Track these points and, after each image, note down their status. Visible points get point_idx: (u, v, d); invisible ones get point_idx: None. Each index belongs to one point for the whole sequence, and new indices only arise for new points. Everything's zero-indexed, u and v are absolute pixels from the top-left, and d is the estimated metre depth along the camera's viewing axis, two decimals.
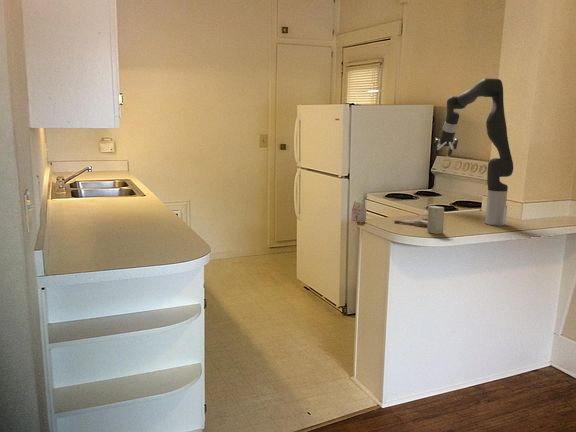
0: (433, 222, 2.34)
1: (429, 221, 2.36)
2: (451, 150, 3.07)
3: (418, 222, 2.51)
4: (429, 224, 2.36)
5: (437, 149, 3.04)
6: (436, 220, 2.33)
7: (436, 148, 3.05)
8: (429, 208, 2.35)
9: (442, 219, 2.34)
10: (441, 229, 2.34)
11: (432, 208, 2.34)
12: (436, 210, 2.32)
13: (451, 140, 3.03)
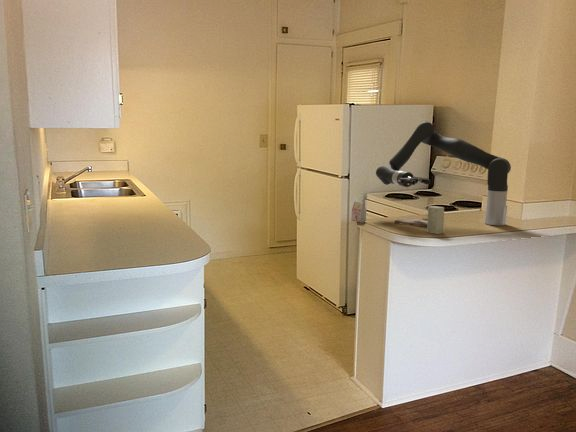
0: (433, 222, 2.34)
1: (429, 221, 2.36)
2: (425, 179, 2.48)
3: (418, 222, 2.51)
4: (429, 224, 2.36)
5: (408, 179, 2.45)
6: (436, 220, 2.33)
7: (407, 180, 2.45)
8: (429, 208, 2.35)
9: (442, 219, 2.34)
10: (441, 229, 2.34)
11: (432, 208, 2.34)
12: (436, 210, 2.32)
13: None
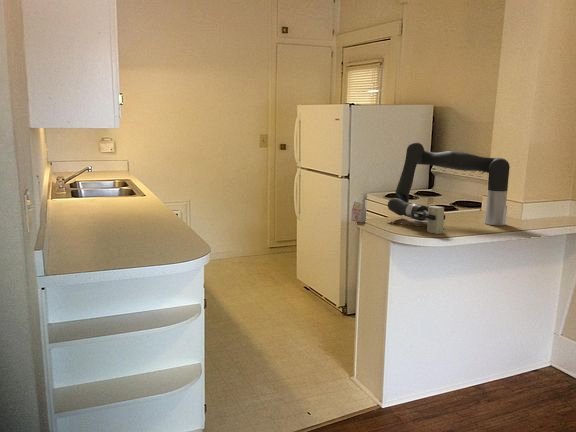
0: (433, 222, 2.34)
1: (429, 221, 2.36)
2: None
3: (418, 222, 2.51)
4: (429, 224, 2.36)
5: (427, 214, 2.35)
6: (436, 220, 2.33)
7: (426, 215, 2.36)
8: (429, 208, 2.35)
9: (442, 219, 2.34)
10: (441, 228, 2.34)
11: (432, 208, 2.34)
12: (436, 210, 2.32)
13: None
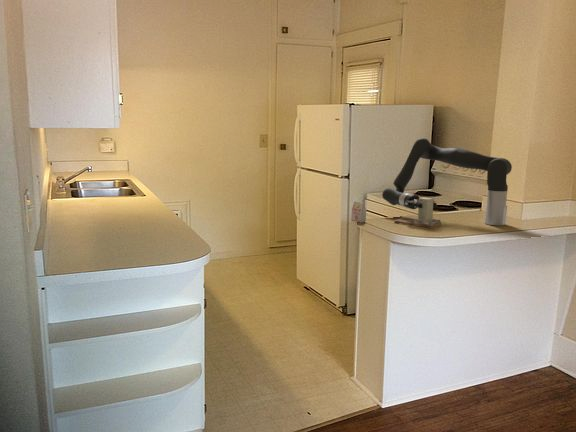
0: (423, 212, 2.52)
1: (419, 211, 2.54)
2: None
3: (418, 222, 2.51)
4: (419, 214, 2.55)
5: (415, 202, 2.53)
6: (425, 210, 2.51)
7: (414, 203, 2.54)
8: (419, 199, 2.54)
9: (431, 209, 2.52)
10: (430, 218, 2.52)
11: (422, 199, 2.52)
12: (425, 201, 2.50)
13: None
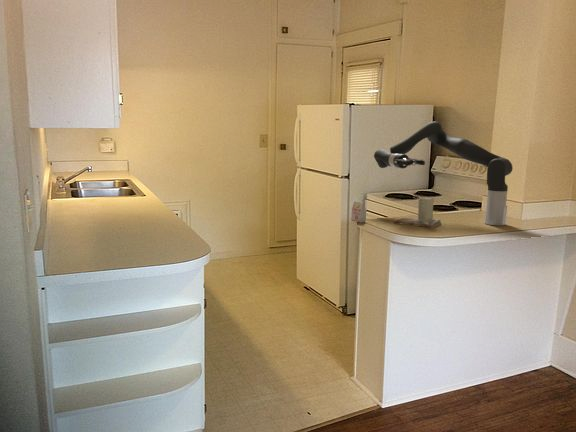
0: (423, 212, 2.52)
1: (419, 211, 2.54)
2: (420, 160, 2.63)
3: (418, 222, 2.51)
4: (419, 214, 2.55)
5: (404, 160, 2.60)
6: (425, 210, 2.51)
7: (402, 161, 2.61)
8: (419, 199, 2.54)
9: (431, 209, 2.52)
10: (430, 218, 2.52)
11: (422, 199, 2.52)
12: (425, 201, 2.50)
13: None
